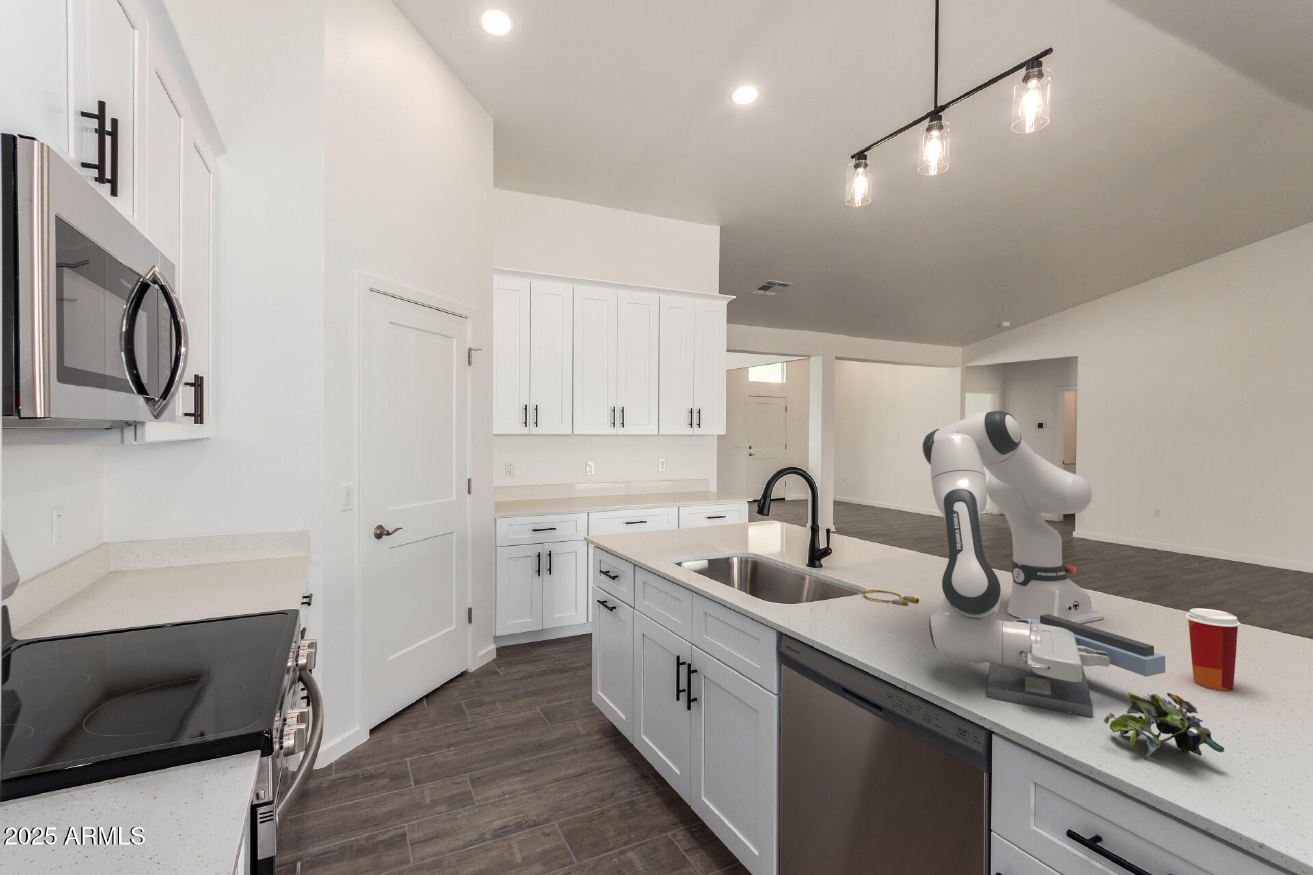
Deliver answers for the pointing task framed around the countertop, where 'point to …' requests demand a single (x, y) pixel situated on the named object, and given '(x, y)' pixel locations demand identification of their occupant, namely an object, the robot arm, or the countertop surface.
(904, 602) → the extension cord
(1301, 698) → the countertop surface
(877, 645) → the countertop surface
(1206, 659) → the paper cup
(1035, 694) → the dark grey base plate
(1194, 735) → the passion flower
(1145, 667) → the bar
